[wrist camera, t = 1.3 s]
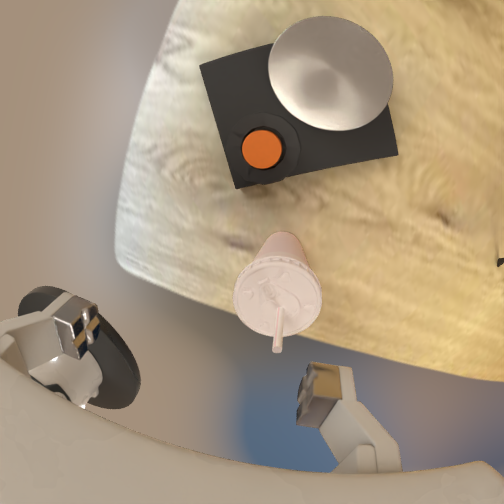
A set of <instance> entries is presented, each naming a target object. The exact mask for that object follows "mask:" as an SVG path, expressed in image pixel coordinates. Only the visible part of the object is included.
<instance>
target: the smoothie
mask: <svg viewBox="0 0 504 504" xmlns="http://www.w3.org/2000/svg"><path fill="white" fill-rule="evenodd" d="M233 305H234V308H235V311H236V313H237V315H238V316H239V318H240V319H241V321H242V322H243V323H244V324H245V325H247V326H248V327H249V328H251V329H252V330H254V331H256V332H258V333H260V334H263V335H267V336H273V337H274V339H273V348H272V349H273V352H275V353H280V352H281V351H282V340H283V336H290V335H294V334H297V333H299V332H301V331H303V330H305V329H306V328H308V327H309V326H310V325H311V324H312V323H313V322H314V321H315V320H316V318H317V316H318V315H319V312H320V310H321V305H322V289H321V285H320V282H319V280H318V277H317V276H316V275H315V273H314V272H313V271H312V270H311V269H310V267H309V265H308V262H307V260H306V257H305V254H304V252H303V249H302V247H301V244H300V242H299V240H298V239H297V238H296V237H295V236H294V235H293V234H291V233H289V232H283V231H281V232H276V233H273V234H272V235H270V236H269V237H268V238H267V240H266V241H265V243H264V244H263V246H262V247H261V249H260V251H259V252H258V254H257V255H256V257H255V259H254V260H253V262H252V263H251V264H249V265H248V266H246V267H245V268H244V269H243V271H242V272H241V273H240V274H239V276H238V278H237V280H236V283H235V287H234V292H233Z"/></svg>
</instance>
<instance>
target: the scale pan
mask: <svg viewBox="0 0 504 504" xmlns="http://www.w3.org/2000/svg"><path fill="white" fill-rule="evenodd" d="M268 74H269V79H270V84H271V86H272V89H273V91H274V93H275V95H276V97H277V99H278V100H279V101H280V103H281V104H282V106H283V107H284V108H285V109H286V110H287V111H288V112H289V113H290V114H292V115H293V116H294V117H295V118H297V119H298V120H300V121H302V122H304V123H305V124H307V125H310V126H312V127H315V128H319V129H322V130H329V131H346V130H352V129H356V128H359V127H361V126H364V125H366V124H367V123H369V122H371V121H372V120H374V119H375V118H376V117H377V116H378V115H379V114H380V113H381V112H382V111H383V109H384V108H385V107H386V105H387V103H388V101H389V99H390V96H391V93H392V88H393V71H392V67H391V63H390V60H389V58H388V55H387V54H386V52H385V50H384V48H383V47H382V45H381V44H380V43H379V42H378V40H377V39H376V38H375V37H374V36H373V35H372V34H370V33H369V32H368V31H367V30H365V29H364V28H362V27H361V26H359V25H357V24H355V23H353V22H351V21H348V20H345V19H342V18H338V17H331V16H318V17H311V18H307V19H304V20H301V21H299V22H297V23H295V24H293V25H291V26H290V27H288V28H287V29H286V30H285V31H284V32H283V33H282V34H281V35H280V36H279V37H278V38H277V40H276V41H275V43H274V45H273V47H272V49H271V52H270V56H269V60H268Z"/></svg>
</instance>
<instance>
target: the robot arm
mask: <svg viewBox="0 0 504 504" xmlns="http://www.w3.org/2000/svg"><path fill="white" fill-rule="evenodd" d="M97 313H98V307H97V305H96V304H95V303H93V302H90V301H88V300H85V299H83V298H81V297H78V296H75V295H73V294H71V293H68V292H64V293H62V294H61V295H60V296H59V297H58V298H57V299H56V300H54V301H53V302H52V303H51V304H50V305H49V306H48V307H47V308H45V309H44V310H43V311H42V312H40V311H37V312H33V313H30V314H26V315H23V316H19V317H15V318H12V319H8V320H5V321H1V322H0V504H504V477H503V476H501V475H500V474H499V473H498V472H497V471H496V470H495V469H494V468H492V467H491V466H490V465H489V464H487V463H486V462H484V461H474V462H470V463H465V464H460V465H455V466H449V467H442V468H436V469H428V470H420V471H410V472H403V470H402V464H401V458H400V452H399V446H398V443H397V442H396V441H395V440H394V439H393V438H392V437H391V436H390V434H389V433H388V432H387V431H386V430H385V429H384V428H383V427H382V425H381V424H380V423H379V422H378V421H377V420H376V419H375V418H374V417H373V415H372V414H371V413H370V412H369V411H368V410H367V408H366V407H365V406H364V405H363V404H362V403H361V402H357V398H356V391H355V385H354V378H353V373H352V369H351V368H350V367H343V366H335V365H329V364H322V363H316V362H310V363H309V365H308V367H307V375H306V376H304V377H303V378H302V380H301V383H300V386H299V390H298V398H297V401H298V402H299V404H300V405H299V407H298V409H297V421H296V424H297V425H300V426H306V427H313V428H319V431H320V433H321V434H322V436H323V438H324V440H325V441H326V443H327V445H328V446H329V448H330V450H331V451H332V453H333V455H334V456H335V458H336V460H337V461H338V463H339V465H338V466H337V467H336V468H335V469H334V470H333V471H332V472H331V473H322V472H307V471H298V470H289V469H281V468H274V467H267V466H261V465H255V464H249V463H244V462H239V461H234V460H230V459H224V458H221V457H216V456H212V455H208V454H204V453H200V452H197V451H193V450H190V449H186V448H183V447H180V446H176V445H173V444H170V443H167V442H164V441H161V440H158V439H155V438H152V437H150V436H147V435H144V434H141V433H139V432H136V431H134V430H131V429H129V428H126V427H124V426H121V425H119V424H117V423H114V422H112V421H110V420H107V419H105V418H103V417H101V416H98V415H96V414H94V413H92V412H90V411H88V410H86V409H84V408H85V406H84V405H85V404H86V403H87V402H88V400H89V399H90V398H91V397H96V396H97V395H98V394H99V390H98V387H99V385H100V384H101V383H102V379H103V377H102V372H101V369H100V367H99V365H98V363H97V361H96V360H95V358H94V357H93V355H92V354H91V353H90V352H89V350H88V345H89V344H92V343H94V342H95V341H96V339H97V338H98V335H99V333H100V321H99V319H98V318H97V316H96V315H97Z"/></svg>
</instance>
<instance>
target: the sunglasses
mask: <svg viewBox="0 0 504 504" xmlns="http://www.w3.org/2000/svg"><path fill="white" fill-rule="evenodd" d="M503 263H504V258H499V259H498V263H497V267H499V266H500V265H502V264H503Z"/></svg>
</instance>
